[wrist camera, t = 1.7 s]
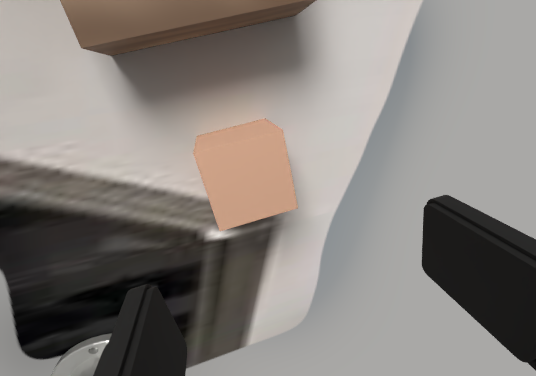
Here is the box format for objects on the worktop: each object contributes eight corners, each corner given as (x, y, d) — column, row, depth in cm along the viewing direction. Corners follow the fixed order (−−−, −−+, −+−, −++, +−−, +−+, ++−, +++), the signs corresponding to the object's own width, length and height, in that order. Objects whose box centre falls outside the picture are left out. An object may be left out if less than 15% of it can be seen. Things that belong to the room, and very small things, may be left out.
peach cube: (278, 181, 26) (298, 208, 20) (217, 198, 25) (219, 231, 20) (265, 118, 23) (282, 129, 18) (196, 135, 23) (193, 153, 17)
